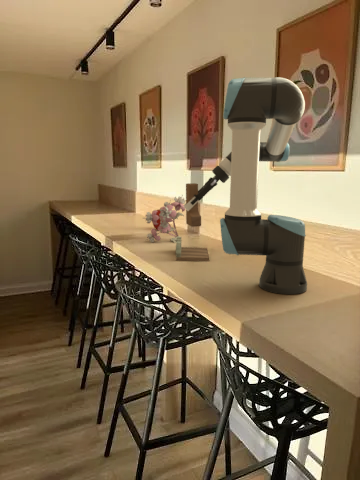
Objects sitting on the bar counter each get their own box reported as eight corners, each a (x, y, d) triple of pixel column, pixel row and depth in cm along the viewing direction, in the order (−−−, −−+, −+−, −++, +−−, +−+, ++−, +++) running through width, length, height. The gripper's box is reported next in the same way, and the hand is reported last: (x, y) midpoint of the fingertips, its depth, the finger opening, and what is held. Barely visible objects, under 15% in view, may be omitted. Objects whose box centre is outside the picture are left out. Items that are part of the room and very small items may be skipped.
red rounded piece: (151, 228, 239) (150, 206, 236) (166, 228, 240) (166, 206, 238) (152, 231, 229) (152, 208, 226) (169, 231, 230) (169, 208, 228)
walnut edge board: (209, 261, 158) (209, 245, 157) (175, 260, 159) (175, 245, 157) (206, 250, 178) (207, 237, 177) (177, 250, 178) (177, 236, 177)
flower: (157, 232, 216) (145, 194, 202) (194, 231, 208) (185, 191, 195) (145, 254, 201) (131, 214, 187) (185, 253, 193) (174, 212, 179)
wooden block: (201, 226, 164) (201, 184, 160) (191, 226, 163) (190, 184, 159) (195, 223, 172) (195, 183, 169) (186, 223, 171) (185, 183, 168)
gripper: (232, 177, 156) (192, 217, 159) (227, 176, 174) (191, 211, 178) (219, 164, 155) (179, 204, 158) (216, 164, 173) (180, 200, 177)
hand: (186, 208), depth 168 cm, fingers closed on wooden block, 6 cm apart
